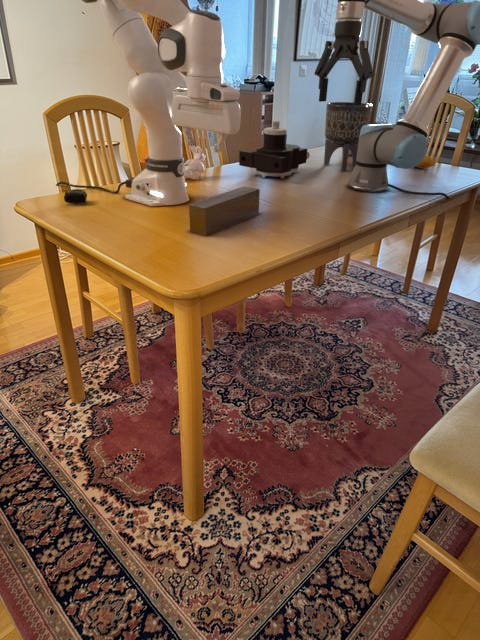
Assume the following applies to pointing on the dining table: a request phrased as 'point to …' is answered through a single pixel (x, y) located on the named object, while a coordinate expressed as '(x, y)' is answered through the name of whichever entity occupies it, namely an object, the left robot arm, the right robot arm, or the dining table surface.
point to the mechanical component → (274, 154)
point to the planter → (344, 129)
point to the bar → (223, 210)
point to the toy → (426, 162)
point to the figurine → (194, 164)
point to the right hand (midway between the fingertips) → (339, 103)
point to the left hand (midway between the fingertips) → (204, 148)
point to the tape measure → (75, 196)
